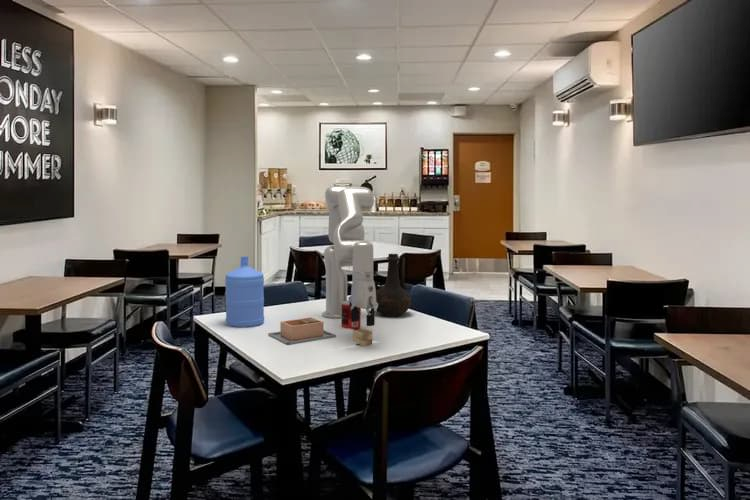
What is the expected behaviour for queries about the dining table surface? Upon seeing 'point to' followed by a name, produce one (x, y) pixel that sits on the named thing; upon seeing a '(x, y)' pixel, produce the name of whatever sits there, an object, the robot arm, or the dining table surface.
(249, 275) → the water jug
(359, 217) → the robot arm
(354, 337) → the oak block
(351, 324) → the canned food
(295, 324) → the pot
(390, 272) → the brown vase
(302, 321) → the walnut block
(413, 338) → the dining table surface
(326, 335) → the tray
